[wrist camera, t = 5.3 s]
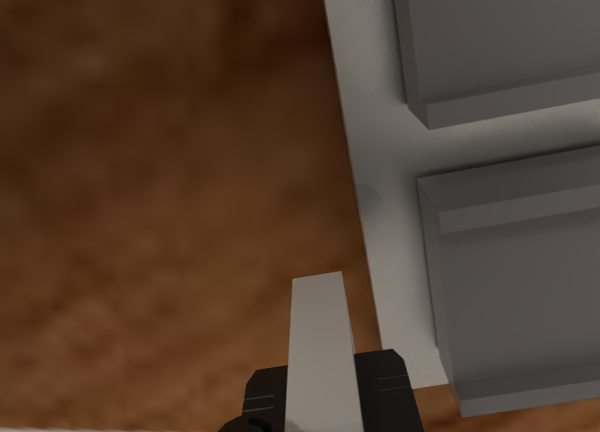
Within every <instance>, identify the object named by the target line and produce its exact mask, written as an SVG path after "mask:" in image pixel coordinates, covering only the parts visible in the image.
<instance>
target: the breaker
mask: <svg viewBox="0 0 600 432" xmlns="http://www.w3.org/2000/svg"><path fill="white" fill-rule="evenodd" d="M394 2H395V10H396V18H397V26H398V34H399V42H400V49H401V57H402V65H403V73H404V81H405V89H406V97H407V105H408V109H409V110H410V111H411V112H412V113H413V114H414V115H415V116H416V117H417V118H418V119H419V121H420V122H421V123H422V124H423V125H424V126H425V127H426V128H427V129H428V130H433V129H439V128H444V127H449V126H455V125H460V124H465V123H471V122H476V121H481V120H487V119H492V118H498V117H503V116H508V115H514V114H519V113H524V112H530V111H535V110H540V109H546V108H551V107H556V106H562V105H567V104H572V103H578V102H583V101H588V100H594V99H599V98H600V0H394Z"/></svg>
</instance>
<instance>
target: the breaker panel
mask: <svg viewBox="0 0 600 432" xmlns="http://www.w3.org/2000/svg"><path fill="white" fill-rule="evenodd" d="M323 6H324V12H325V18H326V24H327V30H328V36H329V42H330V47H331V53H332V59H333V65H334V71H335V77H336V83H337V89H338V95H339V101H340V107H341V113H342V119H343V125H344V131H345V137H346V143H347V149H348V154H349V160H350V166H351V172H352V178H353V184H354V190H355V196H356V202H357V208H358V214H359V220H360V226H361V232H362V238H363V244H364V250H365V256H366V261H367V267H368V273H369V279H370V285H371V291H372V297H373V303H374V309H375V315H376V321H377V327H378V333H379V339H380V345H381V350H386V349H394V350H395V351H396V352H397V353H398V354H399V355H400V356H401V357H402V358H403V359H404V361H405V365H406V368H407V372H408V376H409V379H410V383H411V387H412V389H416V388H422V387H429V386H435V385H442V384H448V383H449V382H448V379H447V377H446V374H445V371H444V369H443V366H442V363H441V361H440V357H439V350H438V342H437V334H436V326H435V318H434V310H433V302H432V294H431V286H430V278H429V271H428V263H427V255H426V247H425V239H424V231H423V223H422V215H421V207H420V200H419V192H418V184H417V178H423V177H428V176H434V175H439V174H445V173H451V172H456V171H462V170H467V169H473V168H478V167H484V166H489V165H495V164H500V163H506V162H511V161H517V160H522V159H528V158H533V157H539V156H544V155H550V154H555V153H561V152H567V151H572V150H578V149H583V148H589V147H594V146H600V98H599V99H594V100H588V101H583V102H578V103H572V104H567V105H562V106H556V107H551V108H546V109H540V110H535V111H530V112H524V113H519V114H514V115H508V116H503V117H498V118H492V119H487V120H481V121H476V122H471V123H465V124H460V125H455V126H449V127H444V128H439V129H433V130H428V129H427V128H426V127H425V126H424V125H423V124H422V123H421V122H420V121H419V119H418V118H417V117H416V116H415V115H414V114H413V113H412V112H411V111H410V110H409V109H408V105H407V97H406V89H405V81H404V73H403V65H402V57H401V49H400V42H399V34H398V26H397V18H396V10H395V2H394V0H323Z"/></svg>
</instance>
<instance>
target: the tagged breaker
mask: <svg viewBox="0 0 600 432" xmlns="http://www.w3.org/2000/svg"><path fill="white" fill-rule="evenodd" d="M417 184H418V192H419V200H420V207H421V215H422V223H423V231H424V239H425V247H426V255H427V263H428V271H429V278H430V286H431V294H432V302H433V310H434V318H435V326H436V334H437V342H438V350H439V357H440V361H441V363H442V366H443V369H444V371H445V374H446V377H447V379H448V382H449V384H450V387H451V390H452V392H453V395H454V398H455V400H456V403H457V406H458V408H459V411H460V413H461V416H462V418H465V417H472V416H478V415H485V414H492V413H499V412H505V411H512V410H519V409H525V408H532V407H539V406H546V405H552V404H559V403H566V402H573V401H579V400H586V399H593V398H599V397H600V146H594V147H589V148H583V149H578V150H572V151H567V152H561V153H555V154H550V155H544V156H539V157H533V158H528V159H522V160H517V161H511V162H506V163H500V164H495V165H489V166H484V167H478V168H473V169H467V170H462V171H456V172H451V173H445V174H439V175H434V176H428V177H423V178H417Z"/></svg>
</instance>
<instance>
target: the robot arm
mask: <svg viewBox="0 0 600 432" xmlns="http://www.w3.org/2000/svg"><path fill="white" fill-rule="evenodd" d="M244 399H245V401H244V403H243V409H242V410H243V413H242V416H239V417H236V418H235V419H233V420H231V421H229V422H227V423H226V424H225V425H224V426H223V427H222V428H221V429H220V430H219V431H218V432H425V431H424V429H423V426H422V423H421V419H420V415H419V412H418V408H417V405H416V401H415V397H414V394H413V390H412V387H411V383H410V379H409V376H408V372H407V368H406V365H405V361H404V359H403V358H402V357H401V356H400V355H399V354H398V353H397V352H396V351H395V350H394V349H386V350H379V351H372V352H365V353H359V354H356V352H355V346H354V340H353V334H352V328H351V323H350V317H349V311H348V305H347V299H346V294H345V288H344V282H343V276H342V271H338V272H332V273H326V274H319V275H313V276H307V277H301V278H294V279H293V280H292V300H291V319H290V339H289V358H288V365H287V366H280V367H273V368H266V369H260V370H256V371H255V373H254V374H253V375H252V377H251V378H250V380H249V381H248V382H247V384H246V391H245V397H244Z"/></svg>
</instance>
